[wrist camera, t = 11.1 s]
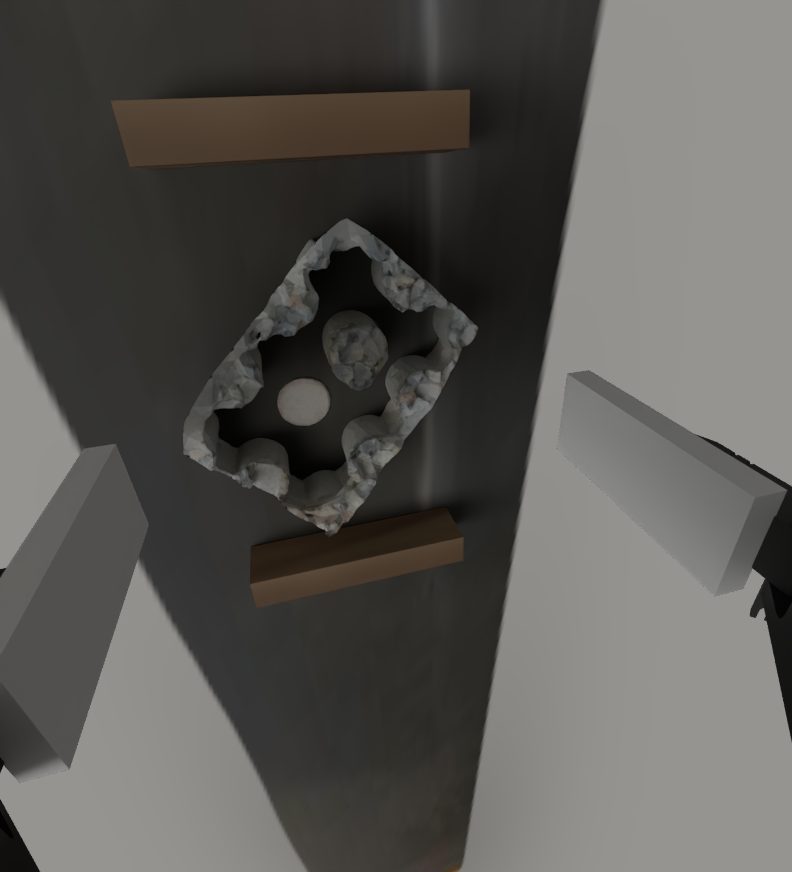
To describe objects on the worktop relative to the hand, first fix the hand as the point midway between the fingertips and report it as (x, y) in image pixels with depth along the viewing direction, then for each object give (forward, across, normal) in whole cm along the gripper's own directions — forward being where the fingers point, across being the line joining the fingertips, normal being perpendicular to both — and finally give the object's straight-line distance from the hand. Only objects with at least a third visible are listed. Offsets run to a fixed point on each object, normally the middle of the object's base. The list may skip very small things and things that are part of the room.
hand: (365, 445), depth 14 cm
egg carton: (+7, 0, 0) cm, 7 cm away
